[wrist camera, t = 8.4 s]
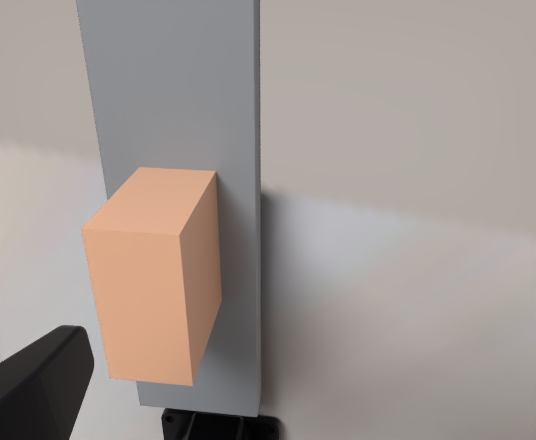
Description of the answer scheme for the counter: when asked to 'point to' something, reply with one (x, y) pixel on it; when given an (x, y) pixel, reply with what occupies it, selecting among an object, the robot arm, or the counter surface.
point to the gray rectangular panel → (178, 198)
